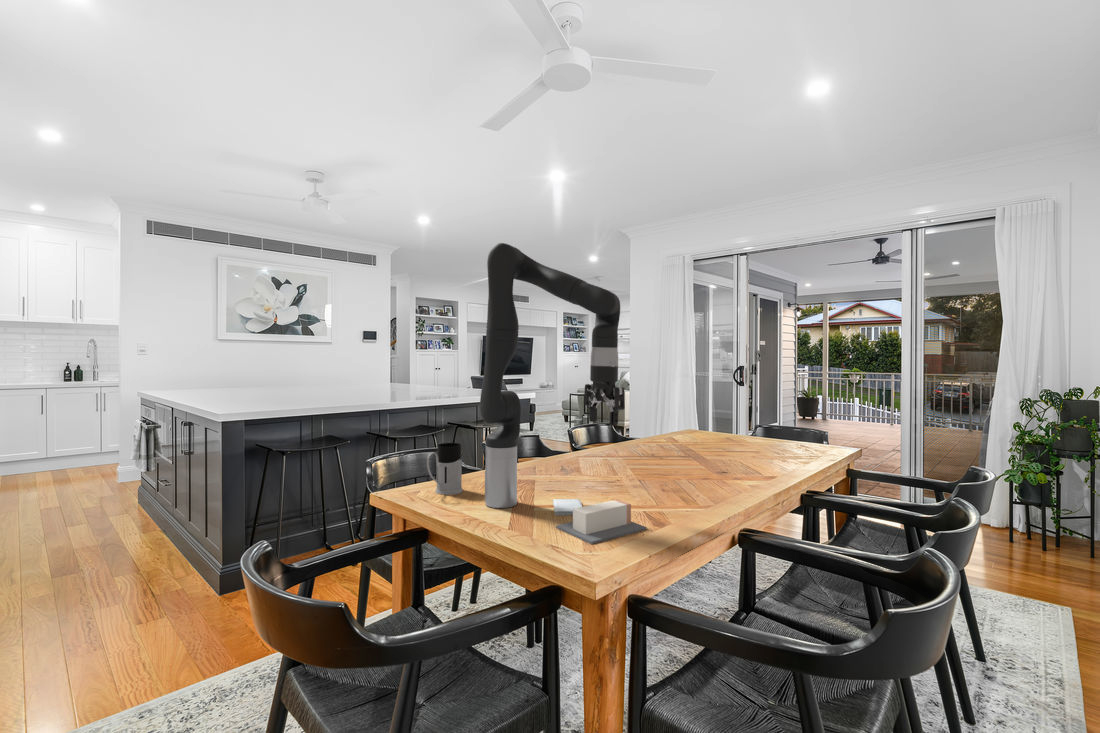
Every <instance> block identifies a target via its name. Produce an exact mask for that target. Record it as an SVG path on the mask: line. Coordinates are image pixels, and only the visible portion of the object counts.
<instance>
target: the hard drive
mask: <svg viewBox="0 0 1100 733" xmlns="http://www.w3.org/2000/svg"><path fill="white" fill-rule="evenodd" d="M552 506H554V507H553V512H555V513H554V516H573V509H575V508H579V507H583V505H582V501H581V500H580V498H570V499H569V498H559V499H558V498H557V499H556V498H555V499H552Z"/></svg>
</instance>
